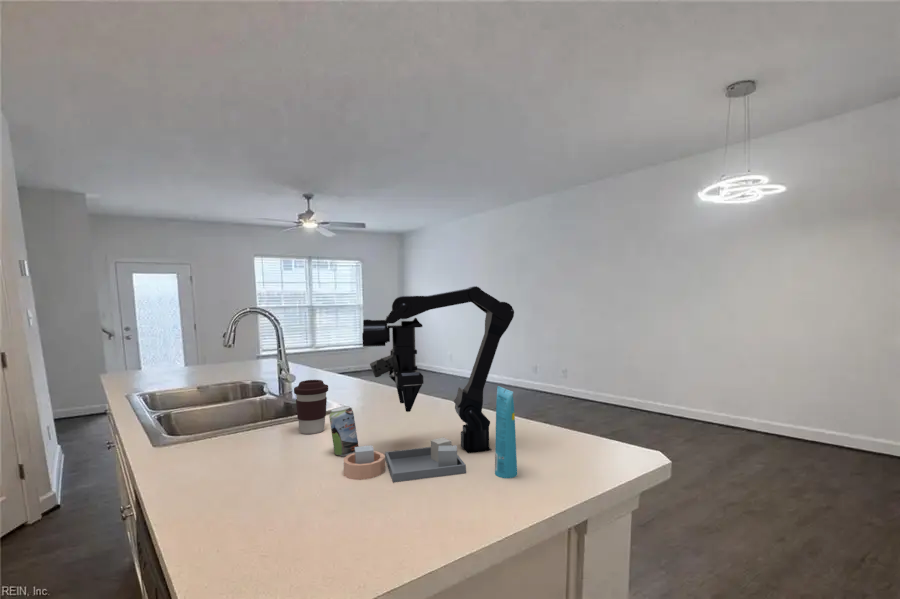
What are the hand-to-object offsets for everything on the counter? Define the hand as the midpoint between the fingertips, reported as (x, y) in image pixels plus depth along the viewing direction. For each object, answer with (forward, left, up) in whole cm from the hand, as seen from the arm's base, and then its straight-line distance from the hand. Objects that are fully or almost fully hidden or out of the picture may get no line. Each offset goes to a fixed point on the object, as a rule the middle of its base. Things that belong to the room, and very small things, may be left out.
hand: (405, 407), depth 111 cm
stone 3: (-8, +13, -12) cm, 19 cm away
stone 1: (+11, +9, -11) cm, 18 cm away
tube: (-19, +20, -12) cm, 30 cm away
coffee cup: (+24, -29, -12) cm, 40 cm away
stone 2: (-8, +7, -12) cm, 15 cm away
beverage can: (+15, -5, -12) cm, 20 cm away
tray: (-3, +10, -12) cm, 16 cm away
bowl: (+11, +9, -12) cm, 19 cm away
